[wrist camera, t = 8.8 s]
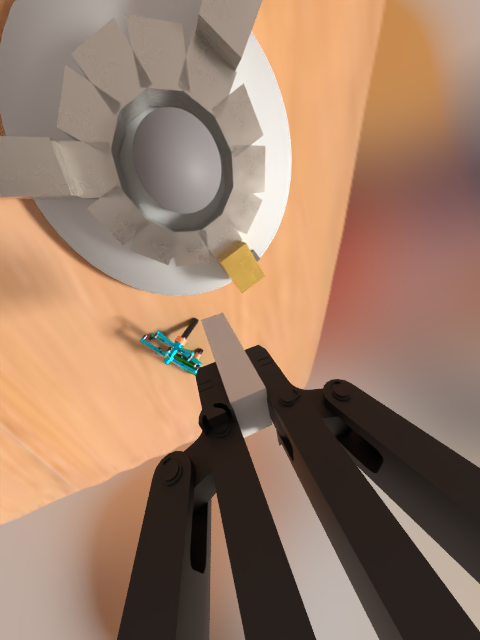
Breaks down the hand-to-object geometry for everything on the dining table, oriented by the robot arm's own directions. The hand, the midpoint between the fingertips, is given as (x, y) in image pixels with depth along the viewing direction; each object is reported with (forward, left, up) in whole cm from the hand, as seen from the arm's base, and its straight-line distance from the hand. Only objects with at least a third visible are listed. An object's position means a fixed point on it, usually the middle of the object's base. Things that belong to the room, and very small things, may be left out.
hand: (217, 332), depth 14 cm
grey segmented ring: (-5, +6, -12) cm, 15 cm away
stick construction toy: (+5, -9, -14) cm, 17 cm away
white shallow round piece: (-7, +7, -14) cm, 17 cm away
